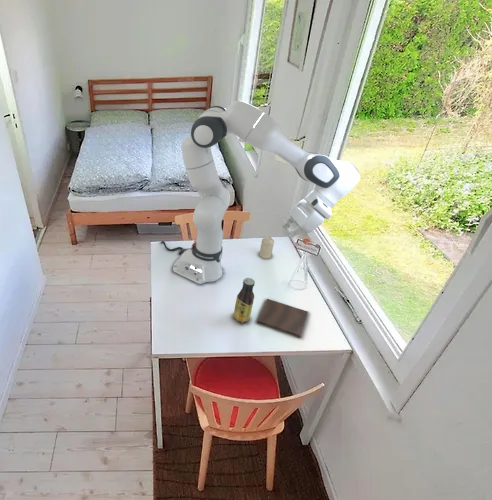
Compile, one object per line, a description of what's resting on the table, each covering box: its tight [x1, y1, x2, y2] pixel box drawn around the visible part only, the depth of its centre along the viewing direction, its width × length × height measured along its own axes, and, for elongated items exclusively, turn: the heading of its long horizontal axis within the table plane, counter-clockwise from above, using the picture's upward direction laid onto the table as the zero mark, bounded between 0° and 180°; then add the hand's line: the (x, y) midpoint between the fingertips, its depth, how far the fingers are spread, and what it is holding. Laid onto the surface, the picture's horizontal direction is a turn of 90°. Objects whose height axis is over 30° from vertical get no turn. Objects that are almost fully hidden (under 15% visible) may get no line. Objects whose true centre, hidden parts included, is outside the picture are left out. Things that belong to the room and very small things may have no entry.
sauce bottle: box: [233, 277, 256, 325], centre depth 144 cm, size 7×6×20 cm
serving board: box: [256, 298, 309, 338], centre depth 149 cm, size 16×14×1 cm
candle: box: [259, 235, 275, 259], centre depth 180 cm, size 6×6×10 cm
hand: (287, 231), depth 138 cm, fingers open, 8 cm apart
